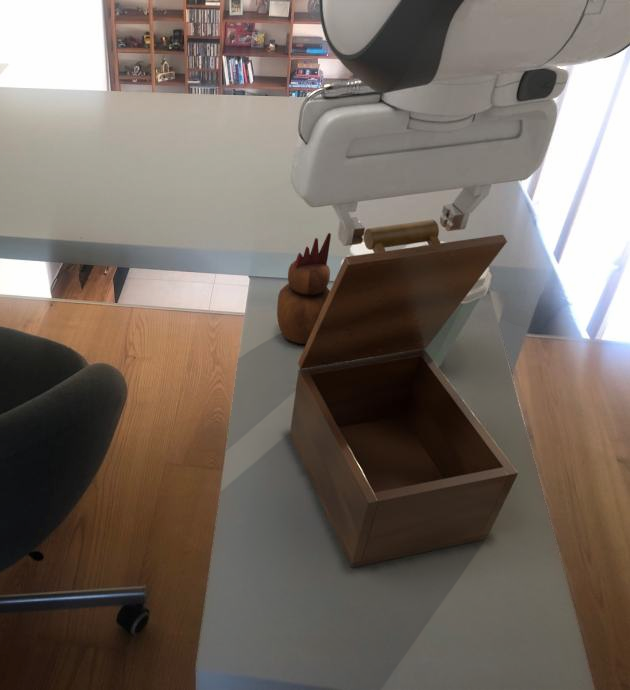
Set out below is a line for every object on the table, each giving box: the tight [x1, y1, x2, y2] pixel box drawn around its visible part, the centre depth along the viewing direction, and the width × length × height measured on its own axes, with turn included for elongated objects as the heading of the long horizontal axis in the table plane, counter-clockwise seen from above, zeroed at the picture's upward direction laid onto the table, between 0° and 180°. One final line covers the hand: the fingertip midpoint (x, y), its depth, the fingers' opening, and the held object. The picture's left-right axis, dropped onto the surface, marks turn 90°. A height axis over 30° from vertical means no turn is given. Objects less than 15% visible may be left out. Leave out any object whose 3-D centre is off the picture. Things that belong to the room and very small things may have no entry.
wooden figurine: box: [276, 232, 332, 345], centre depth 84 cm, size 7×6×15 cm
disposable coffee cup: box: [389, 240, 493, 368], centre depth 81 cm, size 11×11×15 cm
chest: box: [289, 349, 519, 568], centre depth 68 cm, size 17×14×10 cm
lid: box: [297, 219, 508, 370], centre depth 64 cm, size 18×14×5 cm
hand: (401, 234), depth 59 cm, fingers open, 8 cm apart
